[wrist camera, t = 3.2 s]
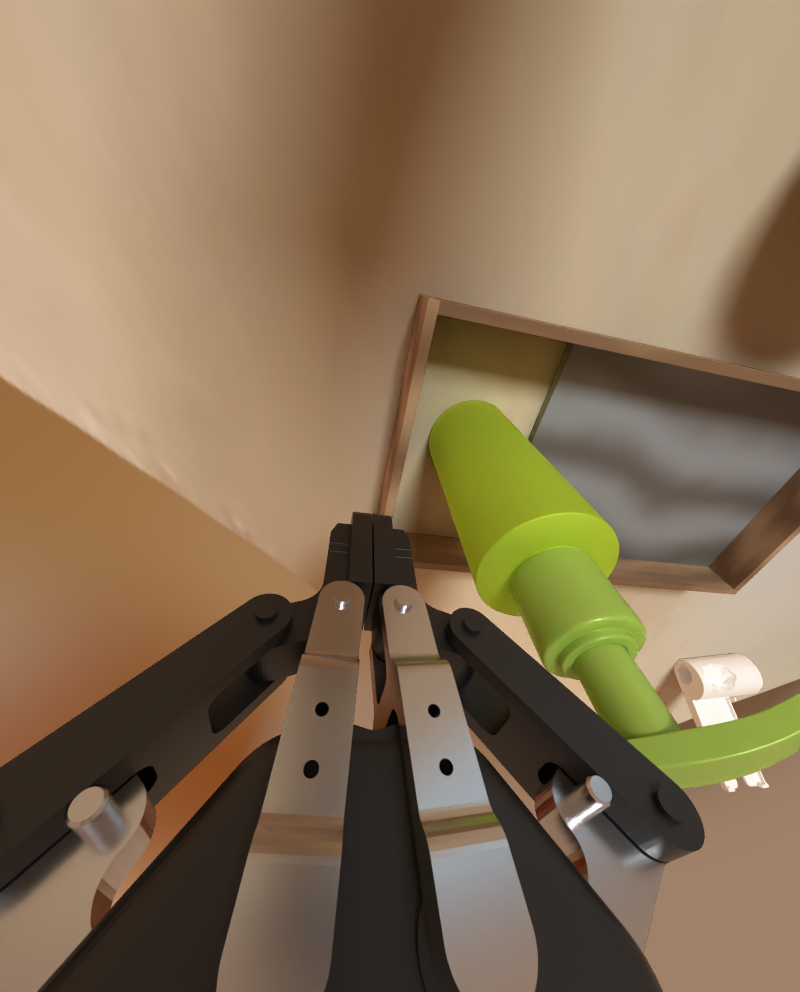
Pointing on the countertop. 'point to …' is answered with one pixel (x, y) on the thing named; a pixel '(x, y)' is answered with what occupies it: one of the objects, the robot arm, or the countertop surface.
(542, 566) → the soap dispenser
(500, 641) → the robot arm
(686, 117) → the countertop surface
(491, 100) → the countertop surface
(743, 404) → the wooden tray
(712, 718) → the plastic part
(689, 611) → the countertop surface
